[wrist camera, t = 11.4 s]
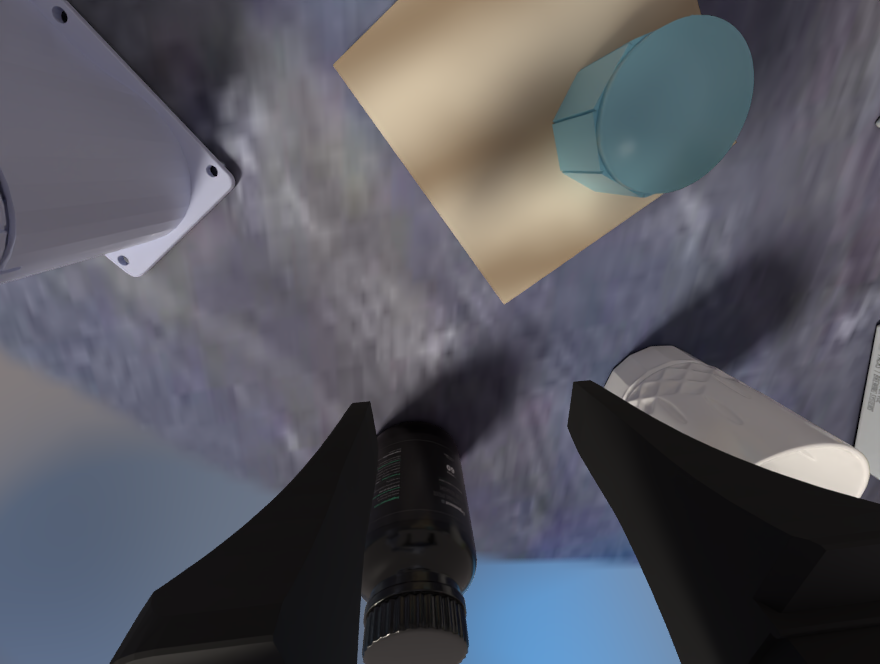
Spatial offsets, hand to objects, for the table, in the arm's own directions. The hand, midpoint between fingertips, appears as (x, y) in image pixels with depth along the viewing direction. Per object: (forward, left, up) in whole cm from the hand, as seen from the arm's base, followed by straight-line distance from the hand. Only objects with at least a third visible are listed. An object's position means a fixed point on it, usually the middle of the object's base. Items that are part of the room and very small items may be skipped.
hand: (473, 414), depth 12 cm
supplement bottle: (+8, -9, -10) cm, 16 cm away
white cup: (+14, +8, -10) cm, 19 cm away
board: (-6, +10, -10) cm, 15 cm away
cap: (-3, +12, -9) cm, 15 cm away
